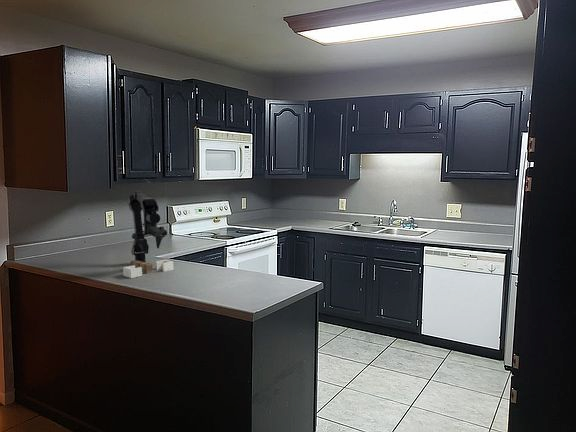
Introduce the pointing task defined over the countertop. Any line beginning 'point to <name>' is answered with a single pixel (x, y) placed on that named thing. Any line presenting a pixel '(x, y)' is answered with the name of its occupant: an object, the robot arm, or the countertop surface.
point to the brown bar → (143, 266)
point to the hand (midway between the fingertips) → (150, 249)
